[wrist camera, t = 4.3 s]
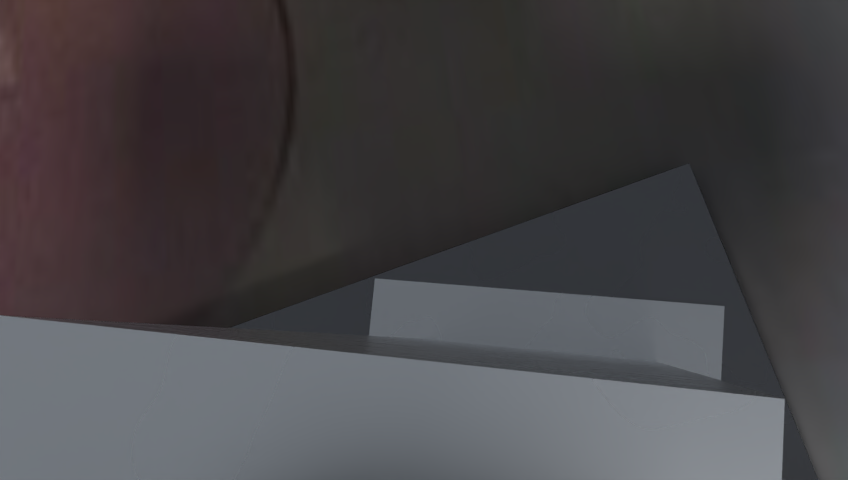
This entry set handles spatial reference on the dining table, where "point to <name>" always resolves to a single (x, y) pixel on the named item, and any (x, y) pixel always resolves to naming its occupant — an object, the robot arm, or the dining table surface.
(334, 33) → the dining table surface
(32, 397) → the steel block
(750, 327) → the grey flat plate
